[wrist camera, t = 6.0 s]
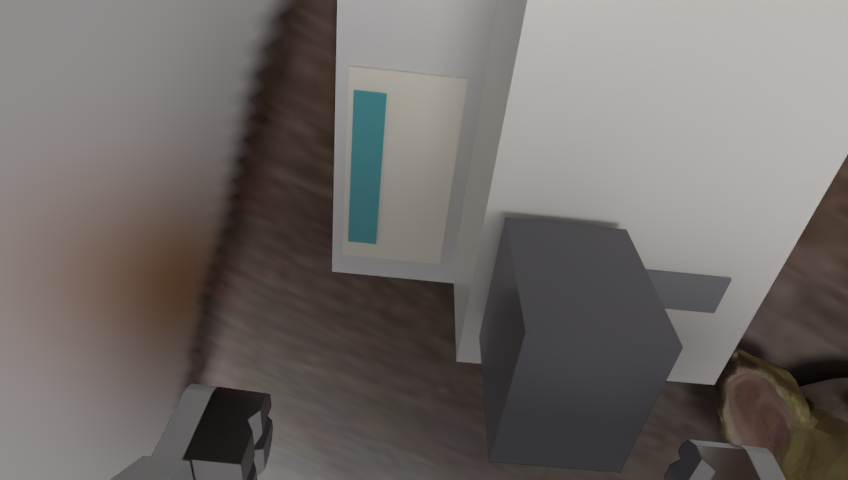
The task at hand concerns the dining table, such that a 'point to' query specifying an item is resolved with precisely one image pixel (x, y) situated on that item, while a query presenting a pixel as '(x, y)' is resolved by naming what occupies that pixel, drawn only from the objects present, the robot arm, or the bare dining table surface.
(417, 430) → the dining table surface
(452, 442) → the dining table surface
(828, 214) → the dining table surface
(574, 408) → the slider
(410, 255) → the switch unit
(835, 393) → the ceramic sculpture
